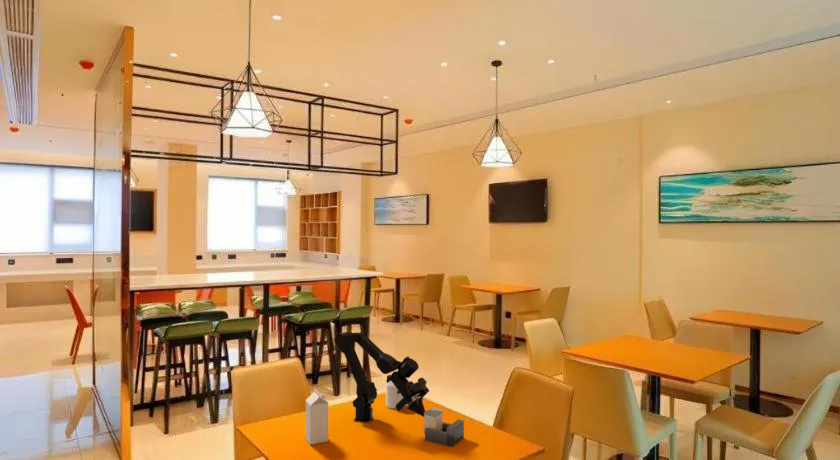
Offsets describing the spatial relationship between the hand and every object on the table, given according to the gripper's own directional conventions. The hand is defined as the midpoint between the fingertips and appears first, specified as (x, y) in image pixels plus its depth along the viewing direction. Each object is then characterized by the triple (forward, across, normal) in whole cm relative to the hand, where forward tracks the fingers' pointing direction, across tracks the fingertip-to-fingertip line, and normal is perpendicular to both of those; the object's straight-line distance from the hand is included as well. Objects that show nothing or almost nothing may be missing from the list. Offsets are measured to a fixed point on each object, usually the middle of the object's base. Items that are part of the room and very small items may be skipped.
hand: (425, 416), depth 201 cm
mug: (-14, +22, +24) cm, 35 cm away
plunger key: (+7, 0, +1) cm, 7 cm away
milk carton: (-19, -27, +29) cm, 44 cm away
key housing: (+11, 0, -1) cm, 11 cm away
